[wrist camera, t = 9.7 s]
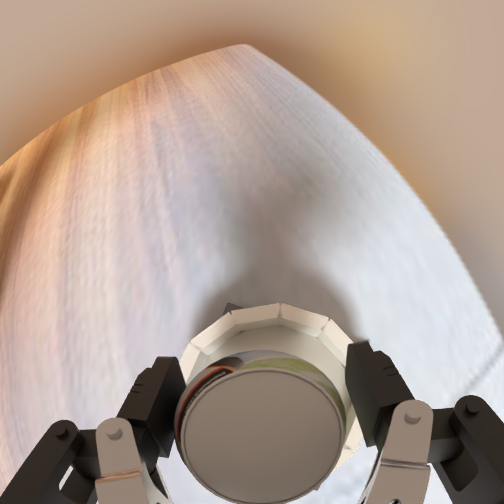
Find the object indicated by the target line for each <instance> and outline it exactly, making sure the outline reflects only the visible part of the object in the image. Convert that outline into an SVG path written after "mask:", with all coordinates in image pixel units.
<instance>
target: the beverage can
mask: <svg viewBox="0 0 504 504" xmlns="http://www.w3.org/2000/svg"><path fill="white" fill-rule="evenodd" d="M346 423H347V420H346V413H345V407H344V404H343V402H342V399H341V396H340V394H339V392H338V391H337V389H336V387H335V386H334V384H333V383H332V381H331V380H330V379H329V378H328V377H327V376H326V375H325V374H324V373H323V372H322V371H321V370H319V369H318V368H317V367H315V366H314V365H313V364H311V363H309V362H307V361H305V360H304V359H302V358H300V357H297V356H294V355H291V354H288V353H285V352H279V351H272V350H251V351H245V352H239V353H236V354H233V355H230V356H227V357H224V358H222V359H220V360H218V361H216V362H214V363H212V364H210V365H209V366H208V367H206V368H205V369H204V370H202V371H201V372H200V373H198V374H197V376H196V377H195V378H194V379H193V380H192V381H191V382H190V383H189V384H188V386H187V387H186V389H185V390H184V392H183V394H182V395H181V397H180V400H179V402H178V405H177V408H176V412H175V418H174V437H175V442H176V446H177V450H178V452H179V454H180V456H181V458H182V461H183V462H184V464H185V465H186V466H187V468H188V469H189V471H190V472H191V473H192V474H193V476H194V477H195V478H196V480H197V481H198V482H199V483H200V484H201V485H202V486H204V487H205V488H206V489H207V490H209V491H210V492H212V493H213V494H215V495H216V496H218V497H220V498H222V499H225V500H227V501H229V502H233V503H236V504H285V503H288V502H291V501H294V500H297V499H299V498H301V497H303V496H305V495H306V494H308V493H310V492H311V491H313V490H314V489H315V488H317V487H318V486H319V485H320V484H321V483H322V482H323V481H324V480H325V479H326V478H327V477H328V476H329V475H330V473H331V472H332V471H333V469H334V468H335V466H336V464H337V462H338V460H339V458H340V456H341V452H342V448H343V444H344V440H345V436H346Z"/></svg>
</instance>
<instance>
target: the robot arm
mask: <svg viewBox="0 0 504 504" xmlns="http://www.w3.org/2000/svg"><path fill="white" fill-rule="evenodd" d="M345 383H346V387H347V390H348V393H349V396H350V399H351V402H352V404H353V407H354V410H355V413H356V416H357V419H358V422H359V425H360V428H361V431H362V434H363V437H364V440H365V443H366V446H367V447H371V446H374V445H376V446H377V449H378V453H377V456H376V459H375V461H374V464H373V467H372V470H371V473H370V475H369V478H368V480H367V483H366V485H365V488H364V490H363V493H362V495H361V497H360V499H359V501H358V503H357V504H423V502H424V498H425V494H426V490H427V486H428V482H429V477H430V466H429V465H427V463H432V465H433V467H434V469H435V471H436V472H437V474H438V476H439V478H440V480H441V482H442V484H443V485H444V487H445V489H446V491H447V493H448V495H449V497H450V499H451V501H452V503H453V504H504V423H503V422H502V421H501V419H500V418H499V417H498V416H497V415H496V413H495V412H494V411H493V410H492V409H491V407H490V406H489V405H488V404H487V403H486V402H485V401H484V400H483V399H482V398H480V397H478V396H474V395H468V396H464V397H462V398H460V399H459V400H458V401H457V403H456V405H455V407H454V408H445V409H431V407H430V406H429V405H428V404H426V403H425V402H423V401H420V400H415V399H414V397H413V395H412V393H411V392H410V390H409V388H408V387H407V385H406V383H405V382H404V380H403V378H402V377H401V375H400V374H399V372H398V370H397V368H396V367H395V365H394V363H393V362H392V360H391V359H390V357H389V356H387V355H386V354H384V353H383V352H382V351H375V352H373V350H372V348H371V346H370V345H369V343H368V342H367V341H362V342H356V343H351V344H348V347H347V356H346V366H345ZM185 389H186V383H185V380H184V377H183V374H182V371H181V368H180V364H179V361H178V359H177V358H176V357H160V356H159V357H157V358H156V360H155V362H154V364H153V366H152V368H146V369H145V370H144V371H143V372H142V373H140V374H139V375H138V377H137V379H136V381H135V383H134V386H132V388H131V390H130V393H129V394H128V396H127V398H126V399H125V401H124V403H123V405H122V407H121V409H120V411H119V413H118V415H117V417H116V418H110V419H107V420H105V421H103V422H102V423H101V424H100V425H99V426H98V428H97V429H92V430H79V429H78V428H77V427H76V425H75V424H74V423H73V422H71V421H69V420H60V421H57V422H55V423H54V424H52V425H51V426H50V428H49V429H48V430H47V432H46V433H45V434H44V436H43V437H42V438H41V440H40V441H39V442H38V444H37V445H36V446H35V448H34V449H33V450H32V452H31V453H30V455H29V456H28V457H27V459H26V460H25V462H24V463H23V464H22V466H21V467H20V469H19V470H18V472H17V473H16V474H15V476H14V477H13V479H12V480H11V482H10V483H9V485H8V486H7V488H6V489H5V491H4V492H3V494H2V495H1V497H0V504H96V502H97V500H98V502H99V504H174V503H173V501H172V499H171V497H170V495H169V492H168V490H167V487H166V485H165V483H164V480H163V478H162V475H161V472H160V470H159V467H158V465H157V464H156V463H157V460H158V457H165V458H169V455H170V451H171V448H172V444H173V441H174V418H175V412H176V408H177V405H178V402H179V400H180V397H181V395H182V394H183V392H184V390H185ZM70 465H71V466H72V467H73V470H72V472H71V473H70V475H69V477H68V479H67V480H66V482H65V484H64V485H63V487H62V489H61V490H59V483H60V481H61V480H62V478H63V476H64V475H65V473H66V471H67V470H68V468H69V466H70Z"/></svg>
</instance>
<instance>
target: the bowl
mask: <svg viewBox="0 0 504 504" xmlns="http://www.w3.org/2000/svg"><path fill="white" fill-rule="evenodd" d="M231 313H232V315H231V314H230V313H229V312H228V313H226V314H225V315H224V316H222V317H221V318H220V319H218V320H217V321H216V322H214V323H213V324H212V325H210V326H209V327H208V328H206V329H205V330H204V331H202V332H201V333H200V334H198V335H197V336H196V337H194V338H193V339H191V340H190V341H191V342H192V344H191V343H188V345H187V347H186V349H185V351H184V354H183V356H182V358H181V360H180V362H179V364H180V368H181V371H182V374H183V377H184V380H185V383H186V387H187V386H188V384H189V383H190V382H191V381H192V380H193V379H194V378H195V377H196V376H197V374H198V373H200V372H201V371H202V370H204V369H205V368H206V367H208V366H209V365H210V364H212V363H214V362H216V361H218V360H220V359H222V358H224V357H227V356H230V355H233V354H236V353H239V352H245V351H251V350H272V351H279V352H285V353H288V354H291V355H294V356H297V357H300V358H302V359H304V360H305V361H307V362H309V363H311V364H313V365H314V366H315V367H317V368H318V369H319V370H321V371H322V372H323V373H324V374H325V375H326V376H327V377H328V378H329V379H330V380H331V381H332V383H333V384H334V386H335V387H336V389H337V391H338V392H339V394H340V396H341V399H342V402H343V404H344V407H345V413H346V420H347V423H346V436H345V440H344V444H343V448H342V452H341V456H340V458H339V460H338V462H337V464H336V466H335V468H334V469H333V471H335V470H336V469H337V468H338V467H340V466H341V465H342V464H343V463H345V462H346V461H347V460H348V459H350V458H351V457H352V456H353V455H354V454H355V453H354V452H353V451H357V450H358V448H359V445H360V443H361V441H362V438H363V434H362V431H361V428H360V425H359V422H358V419H357V416H356V413H355V410H354V407H353V404H352V402H351V399H350V396H349V393H348V390H347V387H346V383H345V366H346V356H347V347H348V344H351V343H354V342H353V341H352V340H351V339H350V338H349V337H348V336H347V335H346V334H345V333H344V332H343V331H342V330H341V329H340V328H339V327H338V326H337V324H336V323H335V322H334V321H333V320H332V319H330V320H329V321H328V319H329V317H326V316H322V315H319V314H316V313H313V312H310V311H306V310H303V309H300V308H297V307H294V306H291V305H288V304H285V303H282V305H281V307H280V303H275V304H269V305H263V306H257V307H251V308H245V309H239V310H233V311H231ZM352 450H353V451H352ZM333 471H332V472H333ZM332 472H331V473H332ZM331 473H330V474H331Z"/></svg>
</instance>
